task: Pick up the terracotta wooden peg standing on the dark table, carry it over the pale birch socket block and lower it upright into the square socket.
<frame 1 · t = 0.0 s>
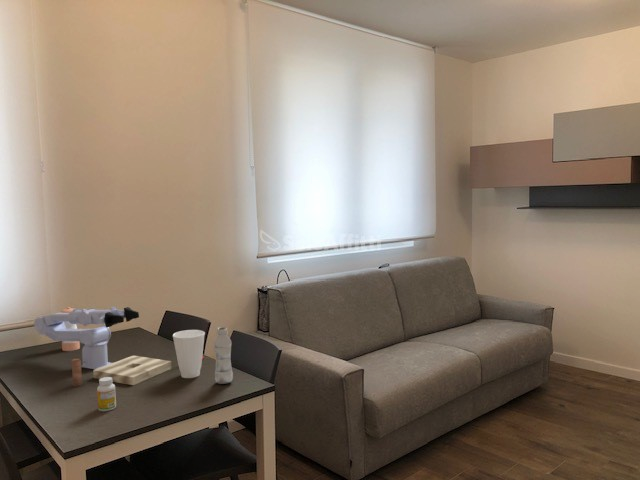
hand: (130, 317, 206), 22 cm above the table, tool horizontal, fingers open, 7 cm apart
socket block: (133, 373, 207), on the table
salt shaker: (71, 349, 242), on the table
peg: (77, 385, 195), on the table
cup: (190, 375, 203), on the table
supplement bottle: (107, 408, 173), on the table
plastic bottle: (224, 383, 194), on the table
tow hook: (193, 360, 223), on the table
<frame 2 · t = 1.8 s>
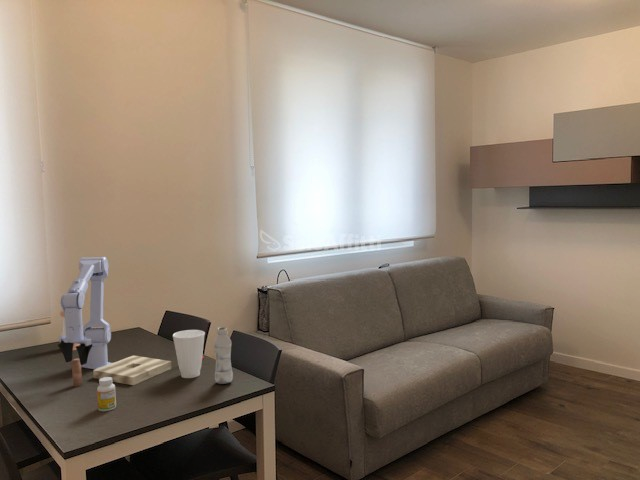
hand: (76, 362, 194), 8 cm above the table, tool pointing down, fingers open, 7 cm apart
nothing on the table moved.
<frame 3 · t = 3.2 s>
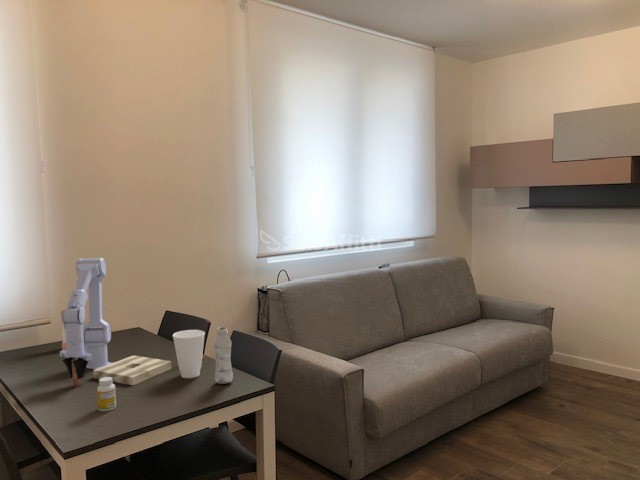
hand: (77, 377, 194), 3 cm above the table, tool pointing down, fingers closed on peg, 3 cm apart
peg: (77, 385, 195), on the table, touching gripper
everything else where it was.
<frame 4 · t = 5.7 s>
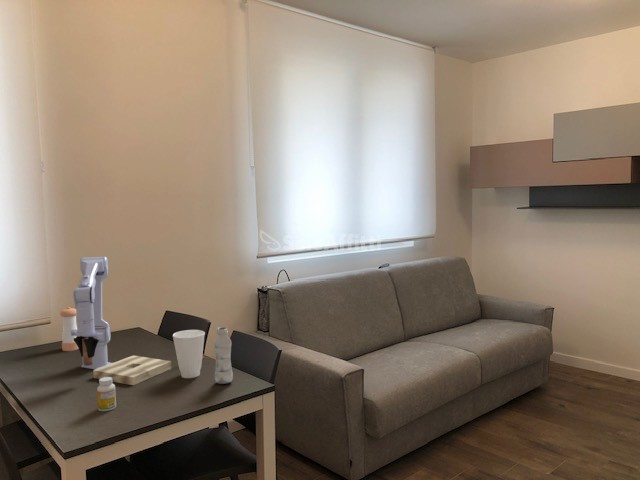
hand: (87, 356, 196), 10 cm above the table, tool pointing down, fingers closed on peg, 3 cm apart
peg: (88, 364, 196), point 7 cm above the table, touching gripper
everything else where it was.
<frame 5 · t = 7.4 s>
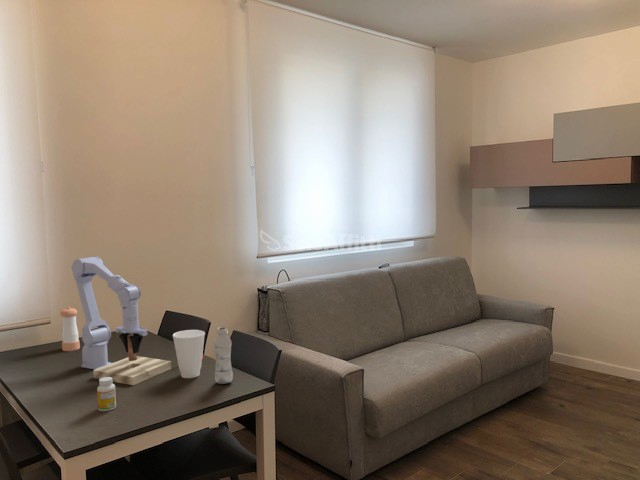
hand: (132, 352, 206), 8 cm above the table, tool pointing down, fingers closed on peg, 3 cm apart
peg: (132, 359, 206), point 5 cm above the table, touching gripper
everything else where it was.
when the fingers open (4 cm above the table, at t = 8.5 s): peg drops 1 cm, resting in socket block.
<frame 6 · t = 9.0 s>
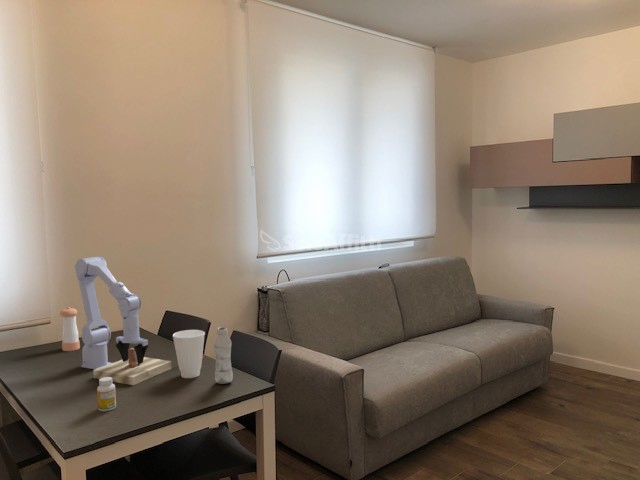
hand: (132, 362, 206), 4 cm above the table, tool pointing down, fingers open, 7 cm apart
peg: (133, 373, 207), resting in socket block
everything else where it was.
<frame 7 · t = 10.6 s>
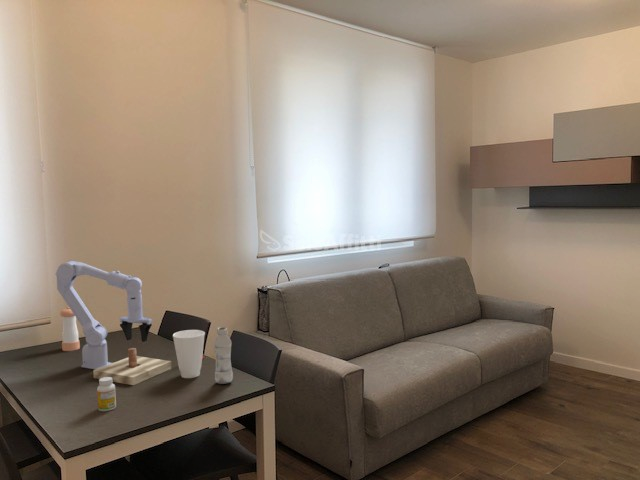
hand: (136, 340, 218), 10 cm above the table, tool pointing down, fingers open, 7 cm apart
nothing on the table moved.
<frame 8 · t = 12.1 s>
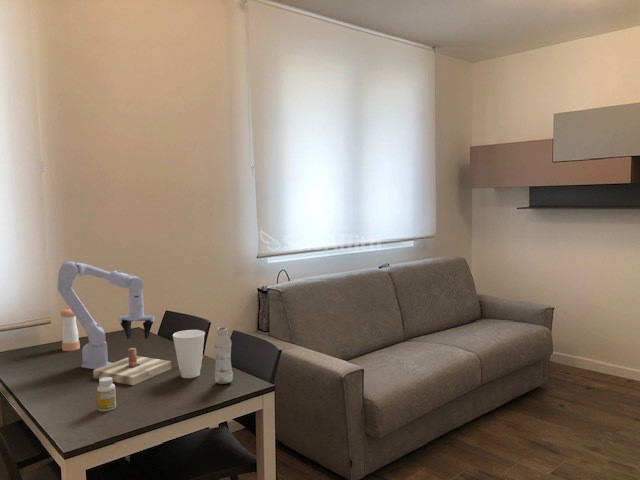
hand: (137, 338, 222), 9 cm above the table, tool pointing down, fingers open, 7 cm apart
nothing on the table moved.
at the end: peg 0.0 cm off-centre on the socket block, point 0.0 cm above the socket block's base; peg tilted 0°; the gripper is holding nothing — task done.
